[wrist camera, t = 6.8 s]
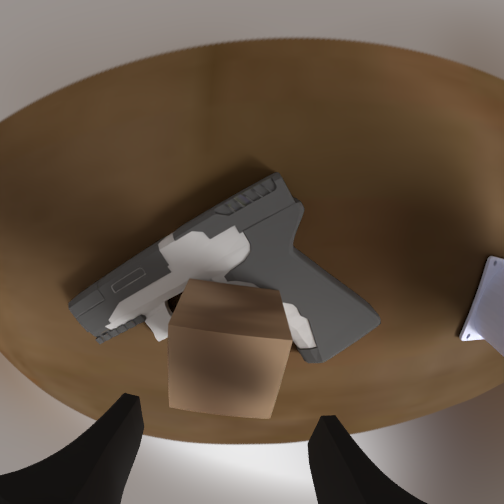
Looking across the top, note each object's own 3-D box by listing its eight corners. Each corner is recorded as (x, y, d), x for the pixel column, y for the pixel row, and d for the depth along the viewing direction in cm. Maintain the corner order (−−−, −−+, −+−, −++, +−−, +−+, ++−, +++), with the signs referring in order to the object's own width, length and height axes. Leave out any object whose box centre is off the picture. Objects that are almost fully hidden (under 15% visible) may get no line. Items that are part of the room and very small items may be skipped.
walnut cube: (279, 290, 16) (292, 340, 11) (263, 360, 17) (269, 418, 12) (189, 278, 16) (167, 324, 11) (185, 351, 17) (169, 407, 12)
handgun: (385, 330, 17) (309, 156, 14) (165, 422, 19) (63, 306, 16) (371, 313, 19) (300, 158, 16) (171, 402, 22) (80, 291, 18)
